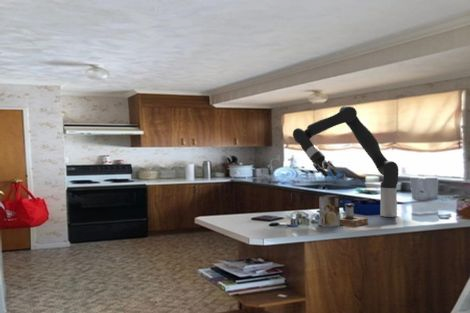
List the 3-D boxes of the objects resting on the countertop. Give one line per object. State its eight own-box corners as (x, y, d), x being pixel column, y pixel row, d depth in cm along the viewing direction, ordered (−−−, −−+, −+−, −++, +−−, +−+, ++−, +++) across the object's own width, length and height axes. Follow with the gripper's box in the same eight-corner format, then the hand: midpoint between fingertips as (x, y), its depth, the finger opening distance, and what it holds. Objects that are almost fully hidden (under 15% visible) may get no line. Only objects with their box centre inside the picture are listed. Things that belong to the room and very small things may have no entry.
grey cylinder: (348, 222, 255) (348, 203, 255) (355, 223, 251) (356, 204, 251) (342, 223, 252) (342, 204, 251) (350, 224, 248) (350, 204, 248)
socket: (346, 220, 261) (346, 215, 261) (367, 223, 251) (367, 218, 251) (331, 223, 252) (331, 218, 252) (353, 226, 241) (353, 221, 241)
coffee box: (334, 224, 250) (334, 194, 249) (340, 226, 244) (340, 196, 243) (318, 225, 247) (318, 195, 247) (324, 227, 241) (324, 196, 241)
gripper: (311, 151, 261) (328, 171, 252) (326, 150, 270) (343, 170, 262) (304, 160, 265) (320, 180, 256) (319, 159, 274) (335, 179, 266)
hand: (331, 175), depth 259 cm, fingers open, 8 cm apart
